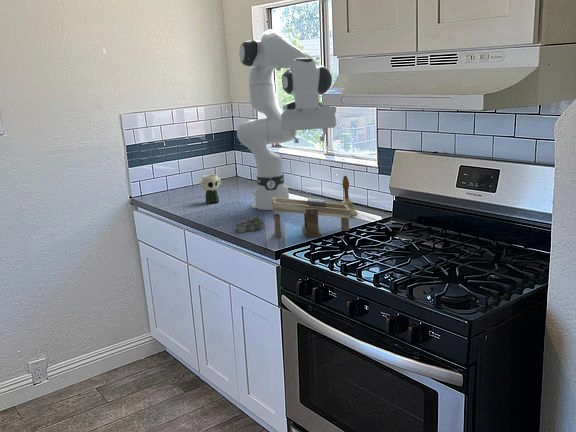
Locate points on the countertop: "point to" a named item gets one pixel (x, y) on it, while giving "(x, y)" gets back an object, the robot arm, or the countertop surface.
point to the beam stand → (309, 224)
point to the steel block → (316, 202)
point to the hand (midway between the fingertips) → (309, 142)
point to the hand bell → (347, 201)
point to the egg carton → (250, 224)
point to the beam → (301, 207)
